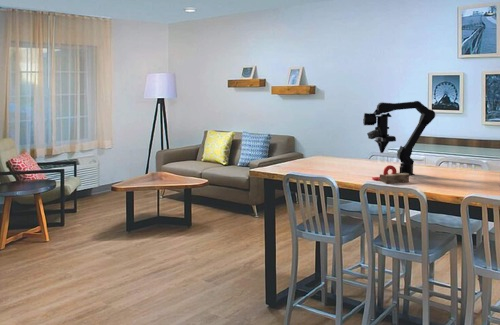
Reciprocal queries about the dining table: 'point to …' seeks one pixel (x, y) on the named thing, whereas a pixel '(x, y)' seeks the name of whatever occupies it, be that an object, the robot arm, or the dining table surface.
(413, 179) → the dining table surface
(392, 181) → the cradle
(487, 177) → the dining table surface
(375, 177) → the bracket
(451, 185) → the dining table surface
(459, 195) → the dining table surface
